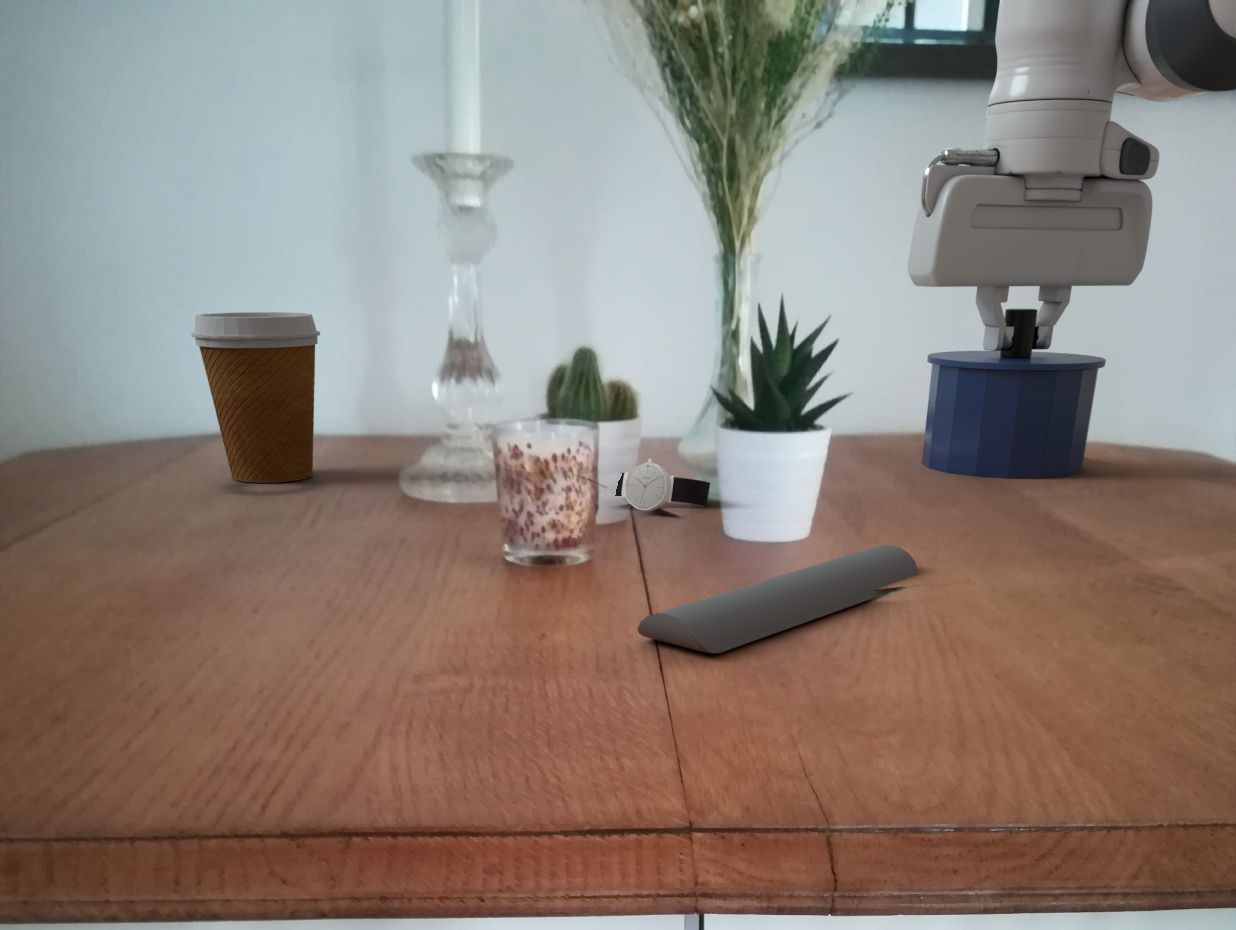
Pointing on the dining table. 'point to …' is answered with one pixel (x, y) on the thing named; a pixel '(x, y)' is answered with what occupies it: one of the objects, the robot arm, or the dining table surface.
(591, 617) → the dining table surface
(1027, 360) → the lid
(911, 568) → the half round rod
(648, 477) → the watch
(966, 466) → the pot
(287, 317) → the disposable coffee cup
